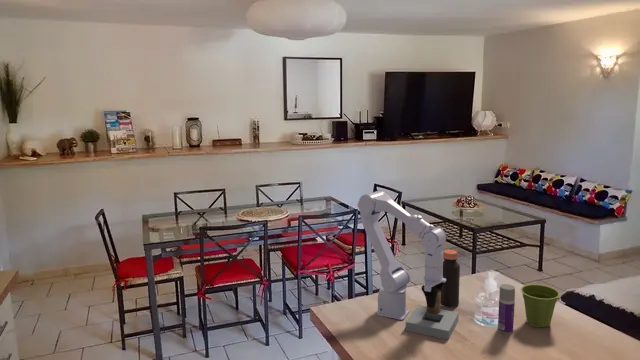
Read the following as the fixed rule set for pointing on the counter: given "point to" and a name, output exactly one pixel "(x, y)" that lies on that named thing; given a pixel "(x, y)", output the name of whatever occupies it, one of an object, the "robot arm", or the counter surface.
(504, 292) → the container
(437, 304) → the peg
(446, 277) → the bottle
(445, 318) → the socket block
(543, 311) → the plant pot
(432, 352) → the counter surface
